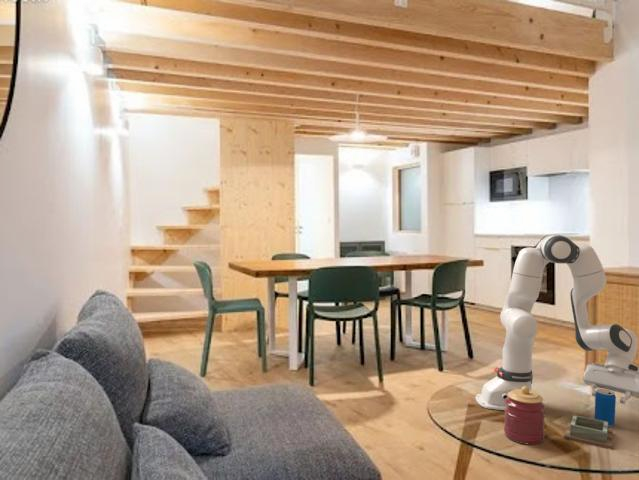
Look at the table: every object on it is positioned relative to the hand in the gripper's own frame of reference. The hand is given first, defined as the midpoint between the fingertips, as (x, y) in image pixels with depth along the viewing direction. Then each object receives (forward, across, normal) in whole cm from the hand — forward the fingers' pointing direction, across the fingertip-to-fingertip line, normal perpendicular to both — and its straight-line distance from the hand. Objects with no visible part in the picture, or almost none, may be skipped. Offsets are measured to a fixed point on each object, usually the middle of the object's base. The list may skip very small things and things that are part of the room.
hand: (608, 399), depth 183 cm
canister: (+32, -15, -19) cm, 40 cm away
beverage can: (+8, 0, +4) cm, 9 cm away
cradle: (+19, 0, -7) cm, 20 cm away
